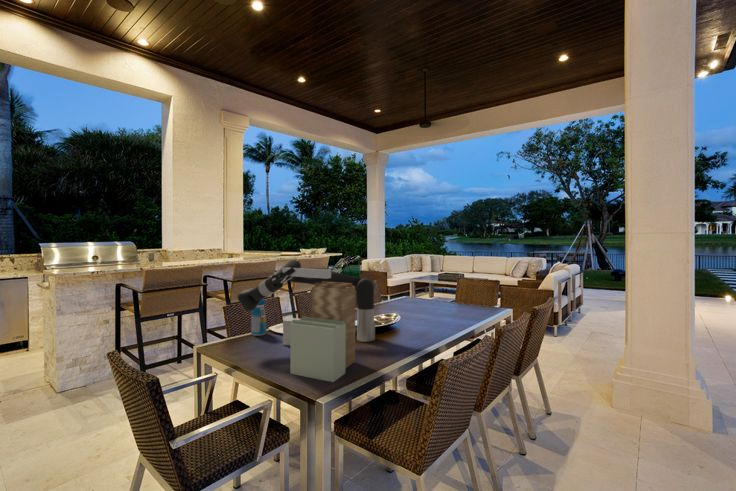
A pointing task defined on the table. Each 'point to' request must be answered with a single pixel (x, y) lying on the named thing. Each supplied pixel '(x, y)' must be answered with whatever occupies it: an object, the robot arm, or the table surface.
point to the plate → (277, 328)
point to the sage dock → (318, 348)
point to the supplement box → (287, 330)
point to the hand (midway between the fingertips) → (296, 269)
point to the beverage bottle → (258, 319)
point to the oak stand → (337, 310)
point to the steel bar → (310, 273)
